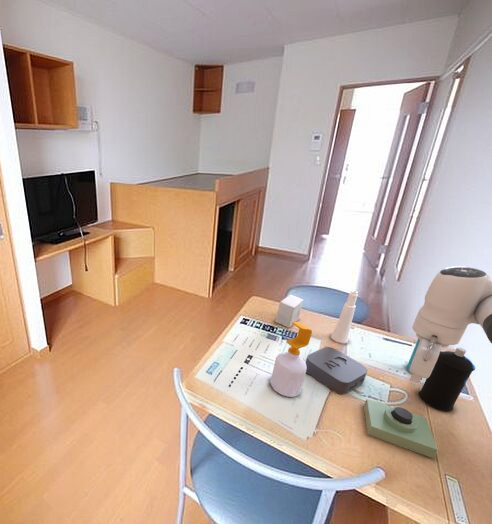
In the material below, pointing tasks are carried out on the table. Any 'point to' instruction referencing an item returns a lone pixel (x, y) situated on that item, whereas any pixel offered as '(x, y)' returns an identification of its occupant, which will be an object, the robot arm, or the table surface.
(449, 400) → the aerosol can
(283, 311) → the cosmetics box
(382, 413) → the button block
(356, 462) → the table surface
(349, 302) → the cosmetic bottle
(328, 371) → the streaming box
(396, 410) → the dark grey button
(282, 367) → the soap bottle
